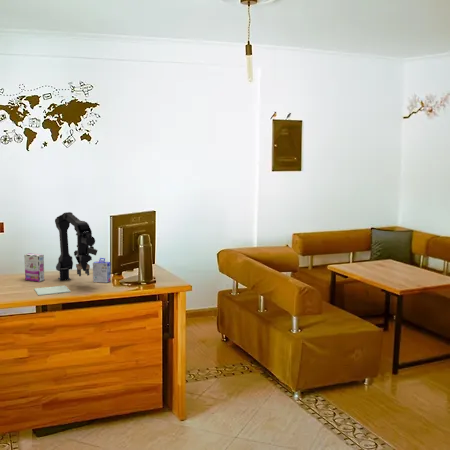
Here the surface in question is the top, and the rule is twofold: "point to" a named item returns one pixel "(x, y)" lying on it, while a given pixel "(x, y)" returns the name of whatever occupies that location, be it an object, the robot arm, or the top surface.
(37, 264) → the candy bar box
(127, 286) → the top surface
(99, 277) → the ink cartridge box
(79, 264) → the walnut stool
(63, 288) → the felt mat
